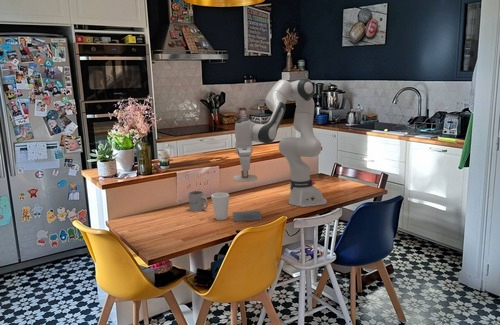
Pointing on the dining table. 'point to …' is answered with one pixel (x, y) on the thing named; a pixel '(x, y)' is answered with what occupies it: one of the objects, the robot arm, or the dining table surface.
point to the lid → (244, 179)
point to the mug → (197, 201)
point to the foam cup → (220, 205)
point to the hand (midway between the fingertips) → (244, 175)
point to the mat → (247, 216)
